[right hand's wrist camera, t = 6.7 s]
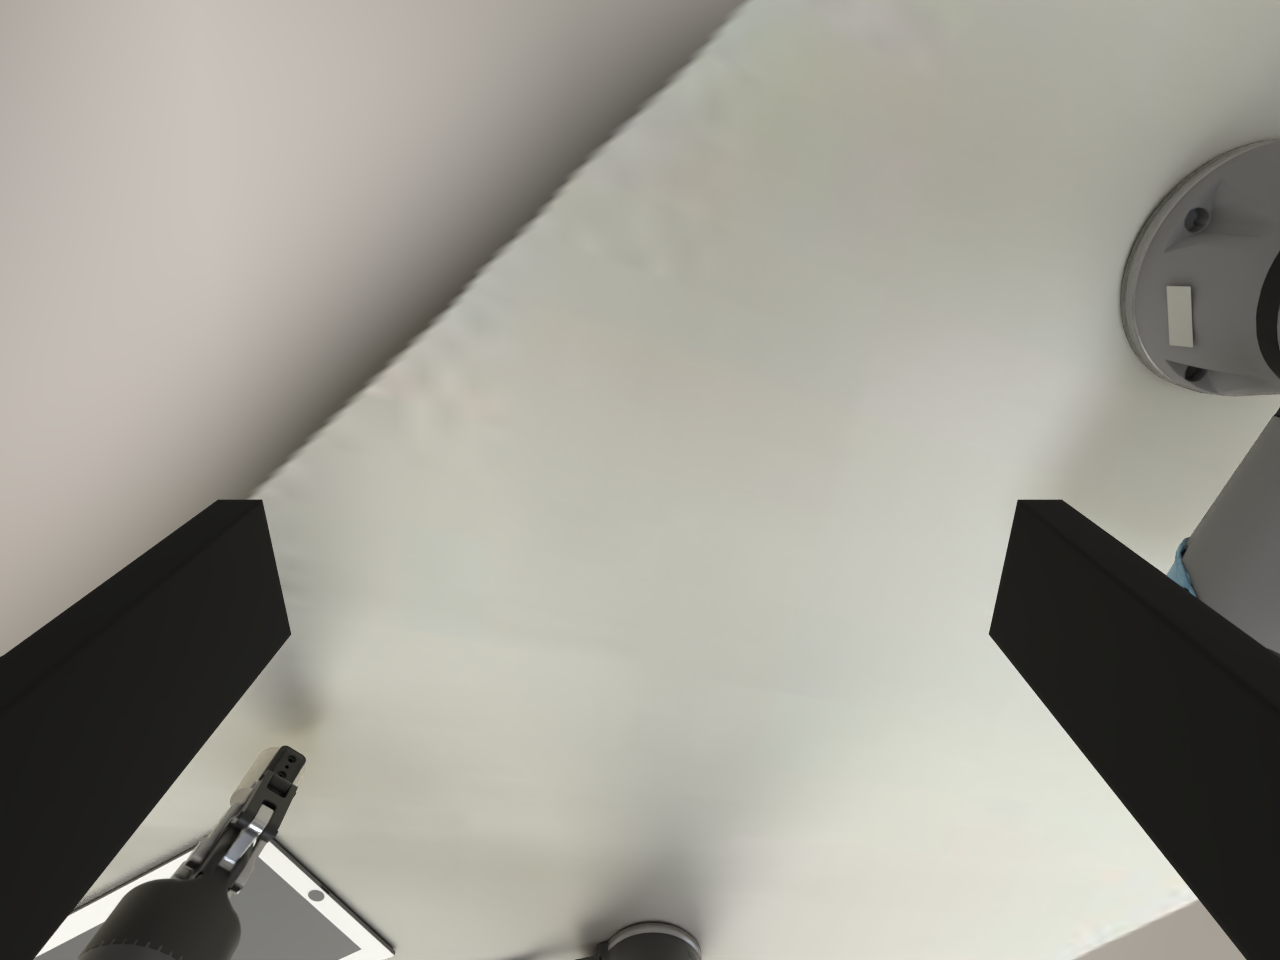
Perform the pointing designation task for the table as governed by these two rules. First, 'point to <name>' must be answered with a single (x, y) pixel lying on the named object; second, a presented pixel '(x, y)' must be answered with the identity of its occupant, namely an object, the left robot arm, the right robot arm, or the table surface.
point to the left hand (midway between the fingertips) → (278, 770)
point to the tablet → (251, 916)
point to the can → (258, 775)
